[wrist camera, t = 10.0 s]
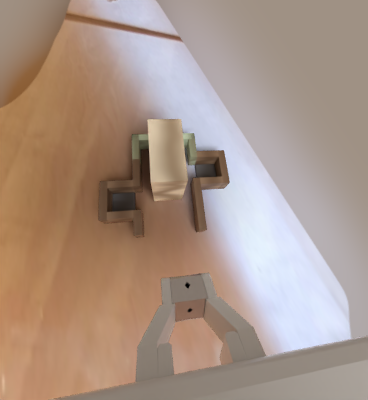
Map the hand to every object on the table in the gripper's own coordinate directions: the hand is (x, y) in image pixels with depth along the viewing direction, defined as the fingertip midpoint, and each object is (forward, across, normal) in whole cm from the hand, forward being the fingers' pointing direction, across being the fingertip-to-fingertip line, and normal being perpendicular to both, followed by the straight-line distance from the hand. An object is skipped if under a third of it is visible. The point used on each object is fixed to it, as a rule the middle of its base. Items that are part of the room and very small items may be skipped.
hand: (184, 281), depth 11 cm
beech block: (+25, -1, +2) cm, 25 cm away
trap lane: (+24, 0, +4) cm, 24 cm away
